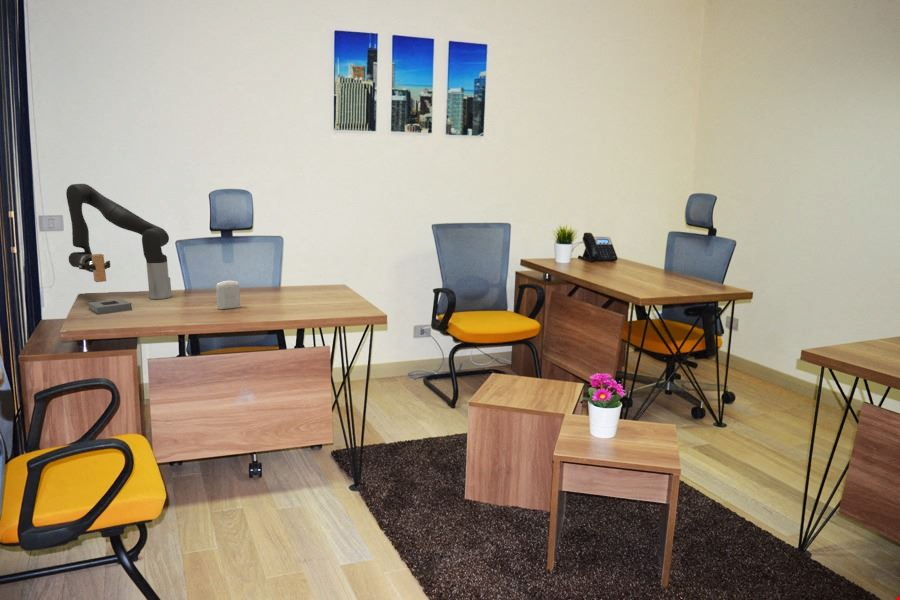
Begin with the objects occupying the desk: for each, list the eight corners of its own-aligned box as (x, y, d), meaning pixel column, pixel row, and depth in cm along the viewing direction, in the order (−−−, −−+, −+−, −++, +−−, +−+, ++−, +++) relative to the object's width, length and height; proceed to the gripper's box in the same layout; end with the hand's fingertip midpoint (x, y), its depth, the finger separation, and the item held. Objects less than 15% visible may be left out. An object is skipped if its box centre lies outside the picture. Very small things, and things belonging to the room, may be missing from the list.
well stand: (122, 305, 329) (121, 298, 328) (131, 309, 319) (131, 303, 318) (89, 309, 320) (88, 302, 320) (97, 314, 310) (97, 307, 309)
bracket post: (103, 279, 329) (100, 253, 327) (106, 281, 326) (103, 254, 323) (94, 280, 326) (91, 254, 324) (96, 282, 323) (94, 255, 321)
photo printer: (239, 305, 326) (237, 278, 323) (242, 307, 322) (240, 280, 320) (216, 308, 320) (214, 281, 318) (218, 310, 317) (216, 282, 314)
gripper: (72, 256, 330) (82, 260, 317) (105, 253, 339) (116, 257, 326) (74, 272, 332) (84, 277, 319) (107, 269, 341) (118, 273, 328)
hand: (100, 267), depth 323 cm, fingers closed on bracket post, 4 cm apart
